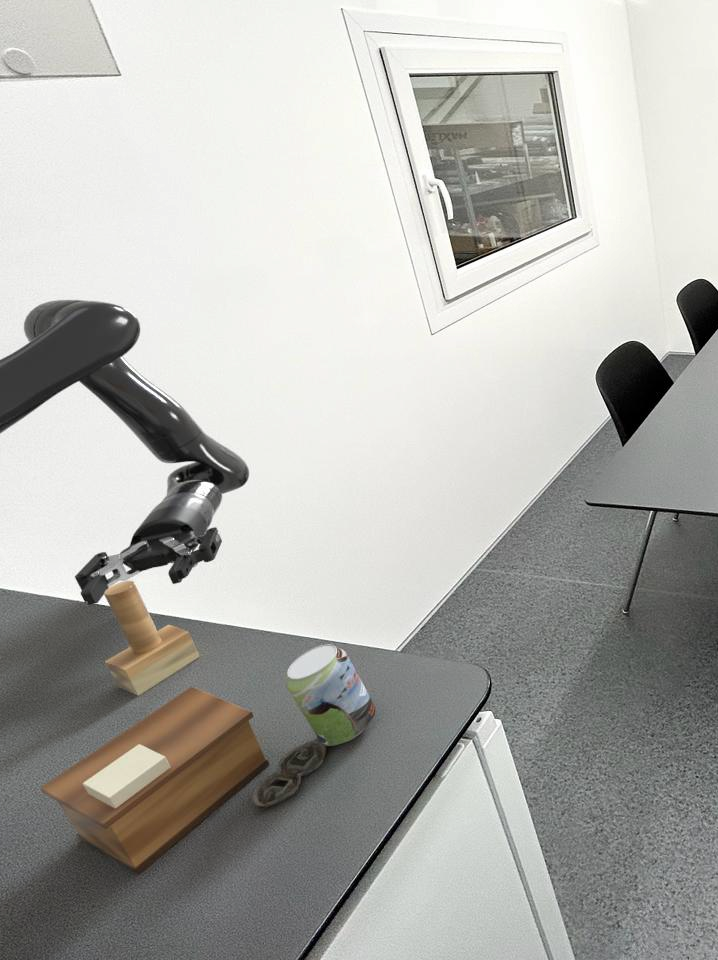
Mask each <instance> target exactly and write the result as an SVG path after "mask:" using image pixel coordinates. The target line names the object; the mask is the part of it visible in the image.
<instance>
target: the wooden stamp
mask: <svg viewBox="0 0 718 960" xmlns="http://www.w3.org/2000/svg"><path fill="white" fill-rule="evenodd" d="M103 596H104V597H105V599H106V601H107V603H108V605H109V607H110V609H111V611H112V613H113V615H114V617H115V620H116V621H117V623H118V625H119V628H120V629H121V631H122V633H123V635H124V637H125V639H126V641H127V643H128V645H129V646H128V647H127V648H126V649H124V650H122V651H120V652H119V653H117V654H115V655H113V656H111V657H110V658H108V659H106V660H105V661H104V663H105V665H106V667H107V669H108V671H109V672H110V674H111V676H112V678H113V680H114V681H115V684H116V686H117V688H119V689H122V690H124V691H126V692H128V693H131V694H133V695H135V696H138V697H139V696H141V695H142V694H144V693H146V692H147V691H148V690H150V689H152V688H153V687H154V686H156V685H158V684H159V683H162V681H164V680H165V679H167V678H169V677H170V676H172V675H174V674H175V673H177V672H179V671H180V670H182V669H183V668H184V667H186V666H187V665H189V664H191V663H192V662H194V661H196V660H197V659H198V658H200V653H199V652H198V650H197V647H196V646H195V643H194V641H193V638H192V637H191V634H190V632H189V631H188V630H184V629H182V628H180V627H177V626H174V625H171V624H167V625H165V626H164V627H162V628H160V629H157V627H156V625H155V623H154V621H153V619H152V616H151V615H150V612H149V611H148V608H147V607H146V604H145V602H144V600H143V598H142V596H141V594H140V592H139V590H138V587H137V586H136V584H135V582H134V580H126V581H121V582H117V583H115V584H113V585H111V586H109V588H108V589H107V590H106V591H105V592H104V595H103Z"/></svg>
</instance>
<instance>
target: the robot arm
mask: <svg viewBox="0 0 718 960" xmlns="http://www.w3.org/2000/svg"><path fill="white" fill-rule="evenodd" d="M23 332H24V335H25V337H26V339H27V341H28V342H27V343H26V344H25V345H23V346H21V347H19V349H17V350H15V351H14V352H12V353H10V354H8V355H7V356H4V357H3V358H0V435H1V434H3V433H4V432H6V431H7V430H8V429H10V428H12V427H13V426H14V425H16V424H17V423H19V422H21V420H23V419H24V418H25V417H27V416H28V415H30V414H32V413H34V411H36V410H37V409H38V408H40V407H41V406H42V405H44V404H45V403H47V402H48V401H50V400H51V399H52V398H53V397H55V396H57V395H58V394H60V393H61V392H63V391H64V390H66V389H69V388H70V387H71V386H73V385H75V384H76V383H78V382H79V383H80V384H81V385H83V386H84V387H85V388H86V389H87V390H89V391H90V392H91V393H92V394H93V395H94V396H95V397H96V398H98V399H99V400H100V401H101V402H102V403H103V404H104V405H105V406H107V407H108V409H109V410H111V412H113V414H115V415H116V416H117V417H118V418H119V419H120V420H121V421H122V422H123V424H125V425H126V427H127V428H129V430H130V431H131V432H132V433H133V434H134V435H135V437H136V438H137V439H138V440H139V441H140V442H141V443H142V444H143V445H144V446H145V448H147V449H148V451H149V452H150V453H151V454H152V455H153V456H154V457H155V458H156V459H157V460H158V461H160V462H161V463H164V464H180V463H187V464H185V465H182V466H180V467H178V468H176V469H174V470H173V471H172V472H170V473H169V475H168V477H167V479H166V485H167V486H166V495H165V496H164V497H163V498H162V500H161V501H160V503H158V504H157V505H156V506H154V507H153V509H152V510H151V511H150V512H149V513H148V514H147V516H146V517H145V519H144V520H143V521H142V522H141V524H140V525H139V526H138V528H137V529H136V531H134V533H133V534H132V537H131V540H130V544H129V545H128V546H127V547H126V548H125V549H122V550H121V551H120V553H117V554H113V555H112V554H111V555H108V553H107V552H106V551H102V552H98V553H96V554H94V556H93V557H92V558H90V560H89V561H87V563H86V564H85V565H83V567H82V568H81V569H80V570H79V571H78V572H77V574H75V575H74V579H75V581H76V583H77V584H78V586H79V589H80V590H81V591H80V596H81V598H82V600H83V601H84V603H87V604H88V605H89V606H92V605H95V604H99V602H100V601H101V599H102V598H103V596H105V595H104V592H105V591H106V590H107V589H108V588H109V587H111V586H113V585H115V584H117V583H119V582H120V581H121V582H124V581H129V580H130V579H131V578H133V577H135V576H137V575H138V574H140V573H142V572H144V571H148V570H150V569H154V568H159V567H165V566H168V565H169V564H172V565H171V566H170V568H169V570H168V571H167V572H168V573H167V574H168V577H169V580H170V581H171V584H173V585H176V584H180V583H182V581H183V579H186V578H187V577H188V576H189V575H190V573H191V571H192V570H193V568H195V567H197V566H198V565H199V563H201V562H203V563H209V562H213V561H214V560H216V556H217V554H218V552H219V549H220V548H221V545H222V542H223V540H222V538H221V534H220V532H219V529H218V528H217V527H216V526H215V527H210V526H211V524H212V522H213V518H214V516H215V515H216V513H217V511H218V509H219V508H220V506H221V504H222V501H223V495H224V494H226V493H230V492H233V491H235V490H238V489H240V488H242V487H244V486H245V485H246V483H248V481H249V478H250V469H249V466H248V464H247V463H246V461H245V460H244V459H243V458H242V457H241V455H239V454H237V452H234V450H232V449H230V448H228V447H226V446H225V445H223V444H222V443H220V442H219V441H217V440H216V439H215V438H213V437H211V436H210V435H208V434H207V433H206V432H205V431H204V430H203V429H202V428H201V426H200V425H199V424H198V423H197V421H195V419H194V417H192V415H191V414H190V413H189V412H188V411H187V410H186V409H185V407H183V405H181V404H180V403H179V402H178V401H177V400H175V399H174V398H173V397H172V396H170V395H169V394H168V393H166V392H165V391H163V390H162V389H161V388H160V387H158V386H156V385H155V384H154V383H153V382H151V381H150V380H148V379H147V378H146V377H144V375H142V374H141V373H140V372H138V371H137V370H136V369H135V368H134V366H132V365H131V364H130V363H129V362H128V361H127V359H126V358H124V356H125V355H127V354H128V353H129V352H130V351H131V350H132V349H133V348H134V347H135V345H136V344H137V342H138V340H139V338H140V335H141V323H140V321H139V319H138V317H137V315H136V314H135V313H134V312H132V311H131V310H129V309H128V308H126V307H123V306H122V305H119V304H115V303H110V302H105V301H100V300H99V301H98V300H81V299H57V300H50V301H47V302H43V303H41V304H38V305H37V306H35V307H34V308H32V309H31V310H30V311H29V313H28V314H27V315H26V317H25V318H24V322H23ZM188 462H191V463H188ZM197 548H198V549H197ZM125 566H126V567H128V568H129V570H126V568H125ZM110 572H112V576H111V577H109V578H107V576H106V575H107V574H109V573H110Z"/></svg>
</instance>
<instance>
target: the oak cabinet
mask: <svg viewBox="0 0 718 960" xmlns="http://www.w3.org/2000/svg"><path fill="white" fill-rule="evenodd" d="M252 718H254V713H253V712H252V711H251V710H249V709H246V708H245V707H243V706H239V705H237V704H235V703H232V702H230V701H228V700H225V699H223V698H220V697H217V696H216V695H214V694H211V693H208V692H206V691H204V690H201V689H199V688H197V687H195V686H190V687H189V688H187V689H185V690H184V691H182V693H180V694H178V695H177V696H175V697H174V698H172V699H171V700H169V701H168V702H166V703H164V704H163V705H161V706H160V707H159V708H158V709H156V710H155V711H152V712H151V713H150V714H148V715H147V716H146V717H144V718H142V719H141V720H139V721H138V722H137V723H135V724H133V725H131V726H130V727H129V728H128V729H126V730H125V731H123V732H122V733H120V734H119V735H117V736H116V737H114V738H112V739H111V740H110V741H108V742H107V743H105V744H104V745H102V746H101V747H99V748H98V749H96V750H95V751H93V752H92V753H90V754H89V755H87V756H85V757H84V758H83V759H81V760H80V761H78V762H77V763H75V764H73V765H72V766H71V767H69V768H68V769H67V770H65V771H64V772H61V774H59V775H57V776H56V777H54V778H53V779H51V780H50V781H49V782H47V783H46V784H44V785H42V786H40V788H39V789H40V791H41V792H42V794H43V795H45V796H47V797H48V798H50V799H52V800H54V801H56V802H57V803H58V805H59V806H60V808H61V810H62V811H63V813H64V814H65V816H66V818H67V819H68V821H69V822H70V824H71V826H72V827H73V829H74V830H75V832H76V837H77V838H78V840H79V841H80V842H82V843H83V844H85V845H87V846H88V847H90V848H92V849H93V850H95V851H97V852H99V853H100V854H102V855H103V856H105V857H107V858H109V859H110V860H112V861H114V862H115V863H116V864H119V865H120V866H122V867H124V869H125V868H126V869H127V870H129V871H131V872H132V873H133V874H135V875H136V876H137V875H138V876H139V875H140V874H142V873H143V872H144V871H145V870H146V869H147V868H148V867H150V866H151V865H152V864H153V863H155V862H156V861H157V860H158V859H160V857H161V856H163V855H164V854H165V853H167V852H168V851H169V850H170V849H171V848H172V847H174V846H175V845H176V844H177V843H178V842H179V841H181V840H182V839H183V838H184V837H185V836H186V835H188V834H189V833H190V832H191V831H192V830H194V829H195V828H196V827H197V826H198V825H199V824H200V823H202V822H203V821H204V820H205V819H207V818H208V817H209V816H210V815H212V813H214V812H215V811H216V810H217V809H219V808H220V807H221V806H222V805H223V804H224V803H226V802H227V801H228V800H229V799H231V797H233V796H234V795H236V793H238V792H239V791H240V790H241V789H242V788H243V787H245V786H246V785H247V784H248V783H250V782H251V781H252V780H253V779H255V778H256V777H257V776H258V775H259V774H260V773H261V772H262V771H264V770H265V769H266V768H267V767H269V766H270V762H269V760H268V758H266V757H265V755H264V753H263V750H262V748H261V746H260V743H259V741H258V739H257V737H256V734H255V732H254V730H253V727H252V725H251V723H250V721H251V720H252ZM138 744H140V745H142V746H144V747H146V748H148V749H150V750H152V751H154V752H156V753H159V754H161V755H163V756H165V757H166V759H167V761H168V763H169V765H170V767H171V768H169V769H168V770H167V771H165V772H164V773H163V774H161V775H160V776H159V777H157V778H156V779H155V780H153V781H152V782H151V783H149V784H148V785H147V786H145V787H144V788H143V789H141V790H140V791H139V792H137V793H136V794H135V795H133V796H132V797H131V798H129V799H128V800H127V801H125V802H124V803H123V804H121V805H120V806H119V807H117V808H116V809H115V808H113V807H111V806H109V805H107V804H106V803H104V802H102V801H100V800H98V799H97V798H95V797H93V796H91V795H89V794H88V792H87V790H86V789H85V787H84V785H83V783H84V782H85V781H87V780H88V779H89V778H91V777H92V776H94V775H95V774H97V773H98V772H100V771H101V770H102V769H104V768H105V767H107V766H108V765H110V764H111V763H113V762H114V761H115V760H117V759H118V758H120V757H121V756H123V755H124V754H125V753H127V752H128V751H130V750H131V749H133V748H134V747H136V746H137V745H138Z"/></svg>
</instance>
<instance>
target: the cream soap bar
mask: <svg viewBox="0 0 718 960" xmlns="http://www.w3.org/2000/svg"><path fill="white" fill-rule="evenodd" d="M169 768H171V767H170V765H169V763H168V761H167V759H166V757H165V756H163V755H161V754H159V753H156V752H154V751H152V750H150V749H148V748H146V747H144V746H142V745H140V744H138V745H137V746H136V747H134V748H133V749H131V750H130V751H128V752H127V753H125V754H124V755H123V756H121V757H120V758H118V759H117V760H115V761H114V762H113V763H111V764H110V765H108V766H107V767H105V768H104V769H102V770H101V771H100V772H98V773H97V774H95V775H94V776H92V777H91V778H89V779H88V780H87V781H85V782H84V783H83V785H84V787H85V789H86V790H87V792H88V794H89V795H91V796H93V797H95V798H97V799H98V800H100V801H102V802H104V803H106V804H107V805H109V806H111V807H113V808H115V809H116V808H117V807H119V806H120V805H121V804H123V803H124V802H125V801H127V800H128V799H129V798H131V797H132V796H133V795H135V794H136V793H137V792H139V791H140V790H141V789H143V788H144V787H145V786H147V785H148V784H149V783H151V782H152V781H153V780H155V779H156V778H157V777H159V776H160V775H161V774H163V773H164V772H165V771H167V770H168V769H169Z"/></svg>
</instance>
